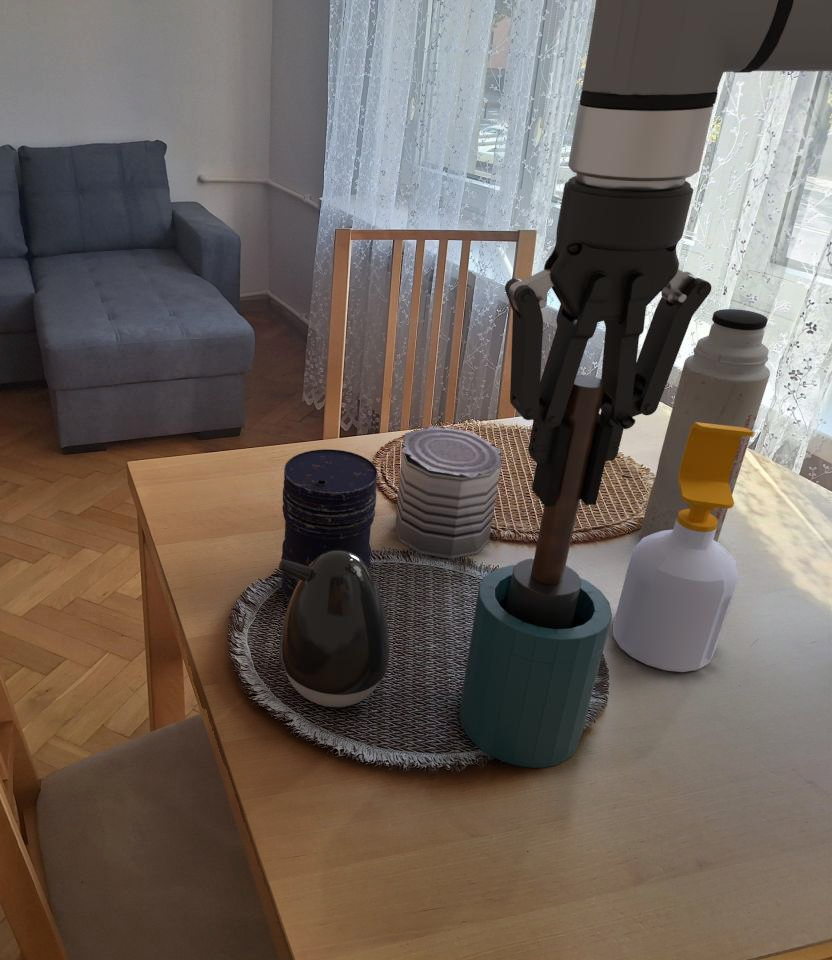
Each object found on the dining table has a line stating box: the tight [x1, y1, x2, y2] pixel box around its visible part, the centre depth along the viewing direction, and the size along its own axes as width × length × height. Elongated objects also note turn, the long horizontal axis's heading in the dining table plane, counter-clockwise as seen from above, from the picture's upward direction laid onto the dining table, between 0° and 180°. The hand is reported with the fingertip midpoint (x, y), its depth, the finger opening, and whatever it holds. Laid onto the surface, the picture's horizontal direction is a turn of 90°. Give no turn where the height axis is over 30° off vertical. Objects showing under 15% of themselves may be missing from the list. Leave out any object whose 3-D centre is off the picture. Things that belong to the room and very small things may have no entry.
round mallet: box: [506, 374, 605, 629], centre depth 67 cm, size 5×5×24 cm
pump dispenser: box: [278, 549, 390, 708], centre depth 79 cm, size 10×10×15 cm
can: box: [394, 425, 503, 560], centre depth 103 cm, size 11×11×12 cm
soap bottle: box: [612, 422, 755, 673], centre depth 80 cm, size 9×9×25 cm
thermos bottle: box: [639, 308, 771, 542], centre depth 95 cm, size 8×8×28 cm
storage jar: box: [280, 448, 378, 602], centre depth 93 cm, size 10×10×15 cm
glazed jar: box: [459, 564, 613, 769], centre depth 74 cm, size 10×10×14 cm
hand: (563, 496), depth 66 cm, fingers closed on round mallet, 2 cm apart
